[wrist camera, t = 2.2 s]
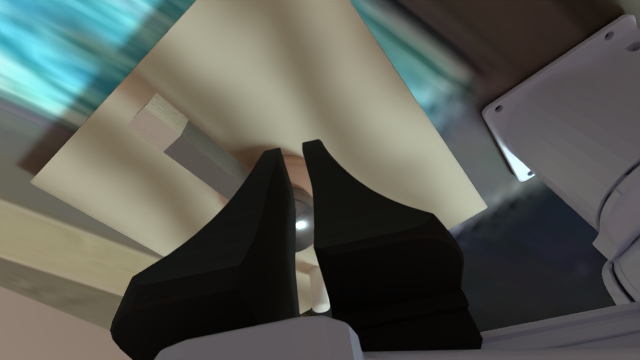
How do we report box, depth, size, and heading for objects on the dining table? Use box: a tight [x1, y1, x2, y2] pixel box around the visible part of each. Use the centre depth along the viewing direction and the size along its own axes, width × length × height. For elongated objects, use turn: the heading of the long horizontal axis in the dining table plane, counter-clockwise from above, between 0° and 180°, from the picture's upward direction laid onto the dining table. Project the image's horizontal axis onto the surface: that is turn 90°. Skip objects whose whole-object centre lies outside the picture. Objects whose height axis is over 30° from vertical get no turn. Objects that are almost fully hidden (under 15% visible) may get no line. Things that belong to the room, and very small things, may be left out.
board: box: [30, 0, 488, 314], centre depth 24 cm, size 22×24×1 cm
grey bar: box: [127, 93, 314, 253], centre depth 20 cm, size 13×4×2 cm, turn 39°
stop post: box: [309, 267, 330, 313], centre depth 28 cm, size 1×1×4 cm
